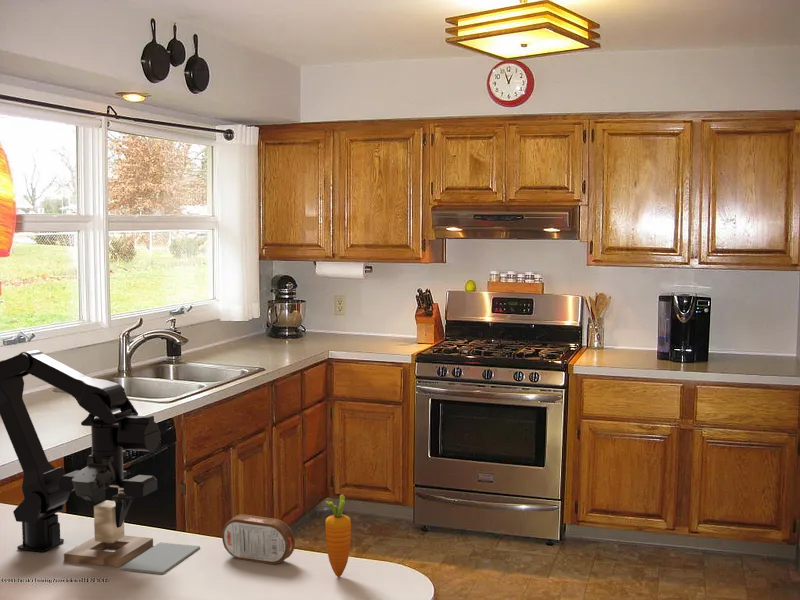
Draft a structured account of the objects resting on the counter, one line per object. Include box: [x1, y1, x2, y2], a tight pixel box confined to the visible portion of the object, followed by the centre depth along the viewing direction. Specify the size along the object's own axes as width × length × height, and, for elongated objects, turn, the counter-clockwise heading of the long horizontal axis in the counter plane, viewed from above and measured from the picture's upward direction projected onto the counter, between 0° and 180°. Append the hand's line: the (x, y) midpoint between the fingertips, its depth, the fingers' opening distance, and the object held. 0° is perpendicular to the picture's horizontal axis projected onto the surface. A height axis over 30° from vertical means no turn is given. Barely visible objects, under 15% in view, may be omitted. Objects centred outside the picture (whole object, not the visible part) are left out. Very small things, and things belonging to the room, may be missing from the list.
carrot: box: [325, 494, 352, 578], centre depth 154 cm, size 5×5×15 cm
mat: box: [119, 542, 201, 575], centre depth 165 cm, size 9×14×1 cm, turn 165°
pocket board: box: [63, 534, 154, 568], centre depth 168 cm, size 12×12×2 cm
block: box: [93, 499, 125, 543], centre depth 167 cm, size 4×4×7 cm
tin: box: [221, 513, 296, 565], centre depth 163 cm, size 15×3×8 cm, turn 69°
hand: (109, 526), depth 167 cm, fingers closed on block, 4 cm apart
